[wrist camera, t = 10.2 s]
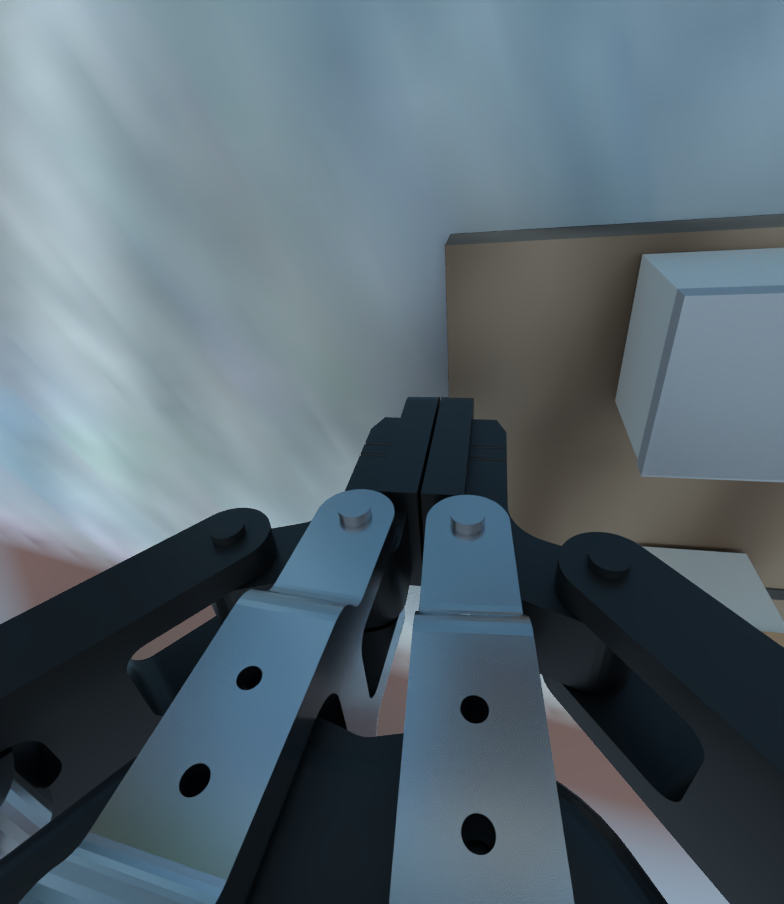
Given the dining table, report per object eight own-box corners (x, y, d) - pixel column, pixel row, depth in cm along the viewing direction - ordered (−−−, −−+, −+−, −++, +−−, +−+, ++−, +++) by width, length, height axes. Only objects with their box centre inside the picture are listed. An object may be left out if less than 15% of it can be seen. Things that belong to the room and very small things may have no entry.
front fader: (797, 245, 14) (901, 289, 10) (741, 403, 17) (807, 483, 13) (640, 252, 15) (684, 296, 11) (613, 402, 17) (641, 476, 14)
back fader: (747, 552, 20) (801, 649, 16) (713, 630, 23) (753, 728, 19) (640, 545, 21) (668, 635, 17) (619, 621, 24) (640, 712, 20)
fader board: (1385, 177, 12) (1524, 187, 11) (980, 623, 22) (1018, 664, 21) (450, 234, 17) (444, 245, 16) (457, 576, 27) (454, 607, 26)
